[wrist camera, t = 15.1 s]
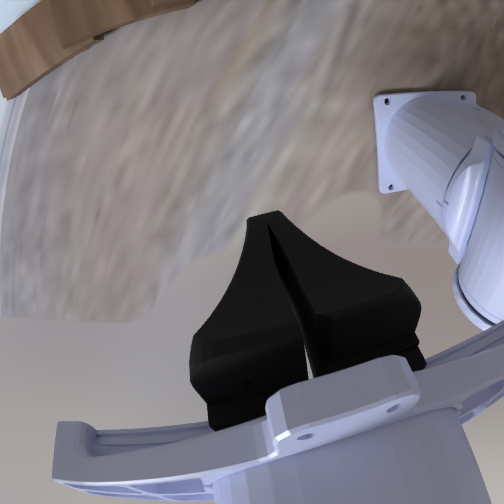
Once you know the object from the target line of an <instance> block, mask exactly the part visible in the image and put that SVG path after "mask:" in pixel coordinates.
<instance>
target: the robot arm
mask: <svg viewBox="0 0 504 504" xmlns="http://www.w3.org/2000/svg"><path fill="white" fill-rule="evenodd" d="M462 95H463V98H462V99H461V96H462ZM386 98H388V100H389V101H388V103H387V104H385V103H384V100H385V99H386ZM373 107H374V117H375V129H376V143H377V160H378V188H379V190H380V191H381V193H383V194H386V193H392V192H397V191H403V190H408V189H409V190H410V192H411V193H412V194H413V195H414V196H415V197H416V198H417V199H418V201H419V202H420V203H421V204H422V205H423V206H424V208H425V209H426V210H427V211H428V212H429V214H430V215H431V216H432V217H433V218H434V220H435V221H436V222H437V223H438V225H439V226H440V227H441V228H442V230H443V231H444V232H445V233H446V235H447V236H448V238H449V242H450V246H449V251H448V252H449V253H450V254H451V256H452V257H453V259H454V260H455V262H456V263H457V264H458V267H457V269H456V271H455V273H454V276H453V292H454V296H455V298H456V301H457V303H458V305H459V306H460V308H461V310H462V311H463V312H464V314H465V315H466V316H467V317H468V318H469V319H470V320H471V321H472V322H473V323H474V324H475V325H476V326H477V327H479V328H480V329H482V330H483V332H481V333H479V334H477V335H475V336H473V337H472V338H469V339H467V340H466V341H463V342H462V343H460V344H457V345H455V346H453V347H451V348H449V349H447V350H445V351H443V352H441V353H438V354H436V355H434V356H432V357H429V358H427V359H424V357H423V355H422V353H421V351H420V349H419V347H418V345H419V339H418V337H417V336H416V334H415V330H416V327H417V324H418V321H419V318H420V314H421V304H420V301H419V300H418V298H417V297H416V295H415V294H414V292H413V291H412V289H411V288H410V287H409V286H408V285H407V284H406V283H405V281H404V280H403V279H402V278H398V277H394V276H390V275H386V274H383V273H379V272H376V271H373V270H370V269H367V268H364V267H362V266H359V265H357V264H355V263H352V262H350V261H348V260H345V259H343V258H342V257H339V256H337V255H335V254H334V253H332V252H331V251H329V250H327V249H325V248H324V247H322V246H321V245H319V244H318V243H317V242H315V241H314V240H312V239H311V238H310V237H308V236H307V235H306V234H305V233H303V232H302V231H301V230H300V229H299V228H297V227H296V226H295V225H294V224H293V223H292V222H291V221H290V220H289V219H288V218H287V217H286V216H285V215H284V214H283V213H282V212H280V211H279V210H277V211H273V212H269V213H265V214H261V215H257V216H253V217H249V218H248V219H247V230H246V237H245V242H244V246H243V250H242V254H241V257H240V260H239V263H238V266H237V269H236V271H235V274H234V276H233V278H232V281H231V283H230V284H229V286H228V288H227V290H226V292H225V294H224V296H223V297H222V299H221V301H220V302H219V304H218V305H217V307H216V308H215V310H214V311H213V313H212V314H211V316H210V317H209V318H208V319H207V321H206V322H205V323H204V324H203V325H202V327H201V328H200V329H199V330H198V331H197V333H195V334H194V336H193V340H192V345H191V351H190V360H189V367H190V382H191V384H192V386H193V388H194V389H195V390H196V391H197V393H198V394H199V395H200V396H201V397H202V399H203V400H204V401H205V402H206V403H207V410H208V421H205V422H198V423H190V424H182V425H173V426H163V427H152V428H139V429H120V430H96V429H95V428H93V427H92V426H90V425H89V424H87V423H84V422H79V421H59V422H58V424H57V431H56V439H55V447H54V458H53V469H52V479H53V481H56V482H59V483H61V484H63V485H66V486H69V487H72V488H74V489H77V490H80V491H83V492H86V493H89V494H92V495H98V496H107V497H116V498H127V499H141V500H156V501H214V502H215V504H491V500H490V498H489V495H488V492H487V489H486V486H485V483H484V480H483V477H482V475H481V472H480V469H479V467H478V464H477V462H476V459H475V456H474V454H473V451H472V449H471V447H470V444H469V442H468V439H467V437H466V435H465V432H464V430H463V428H462V424H464V423H465V422H467V421H468V420H470V419H472V418H473V417H475V416H476V415H478V414H479V413H481V412H482V411H484V410H485V409H487V408H488V407H490V406H491V405H492V404H494V403H495V402H497V401H498V400H500V399H501V398H502V397H504V119H503V118H501V117H500V116H498V115H496V114H494V113H492V112H490V111H488V110H486V109H484V108H482V107H480V106H478V105H476V95H475V93H474V92H472V91H424V92H405V93H391V94H379V95H376V96H375V97H374V99H373ZM391 184H392V187H391V188H388V187H389V186H390V185H391ZM289 301H290V302H289ZM292 308H293V309H292ZM294 313H295V314H294ZM304 345H305V348H304ZM305 349H306V352H307V356H308V359H309V363H310V367H311V370H312V373H313V379H310V380H309V379H308V371H307V363H306V355H305Z"/></svg>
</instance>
